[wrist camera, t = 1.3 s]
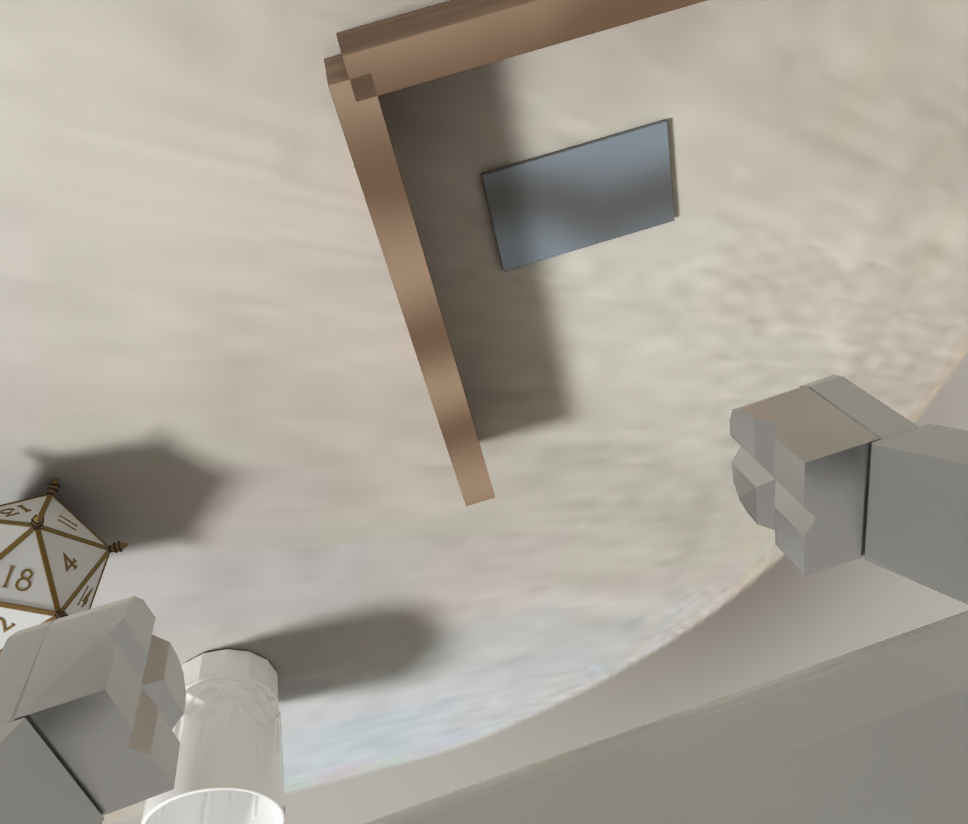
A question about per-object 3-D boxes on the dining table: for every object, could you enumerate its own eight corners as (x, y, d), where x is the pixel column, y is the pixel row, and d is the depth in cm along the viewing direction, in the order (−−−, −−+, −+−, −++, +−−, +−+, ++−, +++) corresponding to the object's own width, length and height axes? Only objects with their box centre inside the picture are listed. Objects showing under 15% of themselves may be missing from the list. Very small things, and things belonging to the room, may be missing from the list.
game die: (88, 460, 45) (181, 539, 39) (43, 593, 46) (128, 688, 40) (-91, 448, 37) (-9, 543, 32) (-141, 605, 38) (-69, 724, 33)
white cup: (196, 628, 49) (176, 777, 41) (308, 659, 52) (310, 801, 44) (143, 702, 52) (115, 855, 44) (253, 726, 55) (246, 871, 47)
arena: (317, 38, 31) (320, 62, 27) (835, -110, 32) (912, -108, 28) (450, 449, 45) (466, 506, 41) (815, 338, 45) (865, 382, 41)
